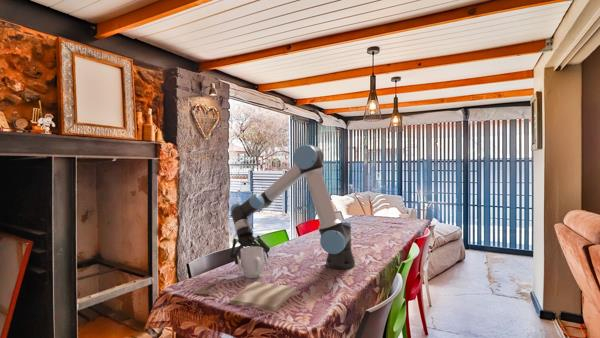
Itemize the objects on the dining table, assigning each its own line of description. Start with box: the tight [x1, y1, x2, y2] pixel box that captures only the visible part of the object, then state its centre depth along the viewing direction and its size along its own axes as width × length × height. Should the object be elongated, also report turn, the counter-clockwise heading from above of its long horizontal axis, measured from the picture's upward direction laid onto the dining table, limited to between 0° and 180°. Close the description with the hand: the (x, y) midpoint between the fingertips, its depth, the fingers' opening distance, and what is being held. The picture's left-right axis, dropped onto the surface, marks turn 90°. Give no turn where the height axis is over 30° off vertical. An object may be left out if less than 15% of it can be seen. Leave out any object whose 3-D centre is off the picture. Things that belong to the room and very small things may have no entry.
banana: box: [194, 278, 226, 297], centre depth 143 cm, size 9×20×2 cm, turn 179°
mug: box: [239, 246, 265, 279], centre depth 154 cm, size 15×11×13 cm
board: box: [228, 281, 297, 312], centre depth 131 cm, size 20×20×2 cm
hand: (254, 267), depth 153 cm, fingers open, 13 cm apart
